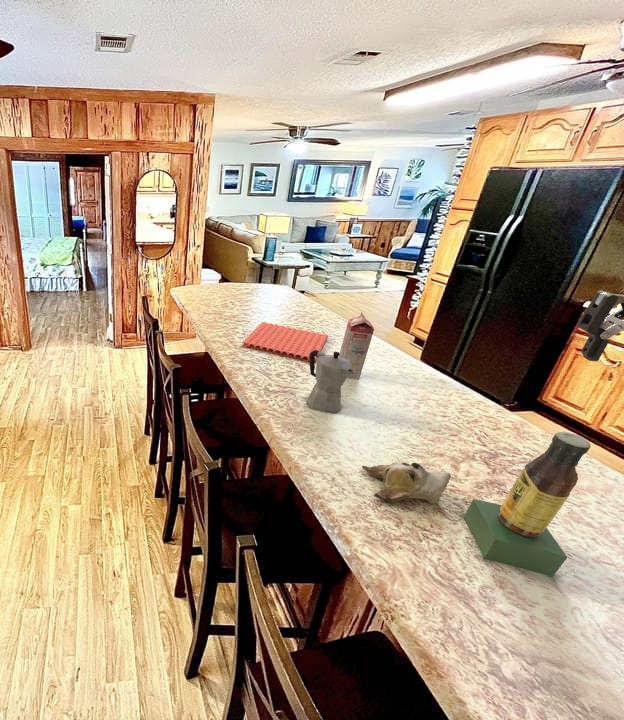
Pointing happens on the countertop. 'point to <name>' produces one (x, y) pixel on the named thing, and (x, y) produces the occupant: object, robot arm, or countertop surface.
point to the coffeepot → (328, 380)
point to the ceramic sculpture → (409, 482)
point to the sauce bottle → (543, 486)
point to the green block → (512, 541)
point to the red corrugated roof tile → (285, 341)
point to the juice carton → (356, 343)
